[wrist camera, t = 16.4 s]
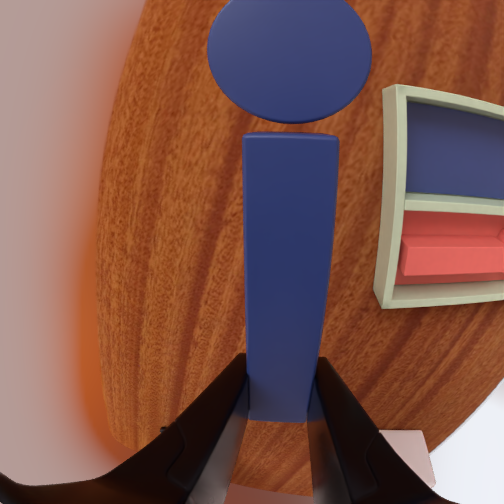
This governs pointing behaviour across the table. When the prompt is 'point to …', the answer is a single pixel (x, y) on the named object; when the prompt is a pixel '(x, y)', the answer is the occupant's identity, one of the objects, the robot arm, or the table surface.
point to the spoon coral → (450, 254)
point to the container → (412, 452)
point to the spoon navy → (287, 178)
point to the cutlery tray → (438, 190)
